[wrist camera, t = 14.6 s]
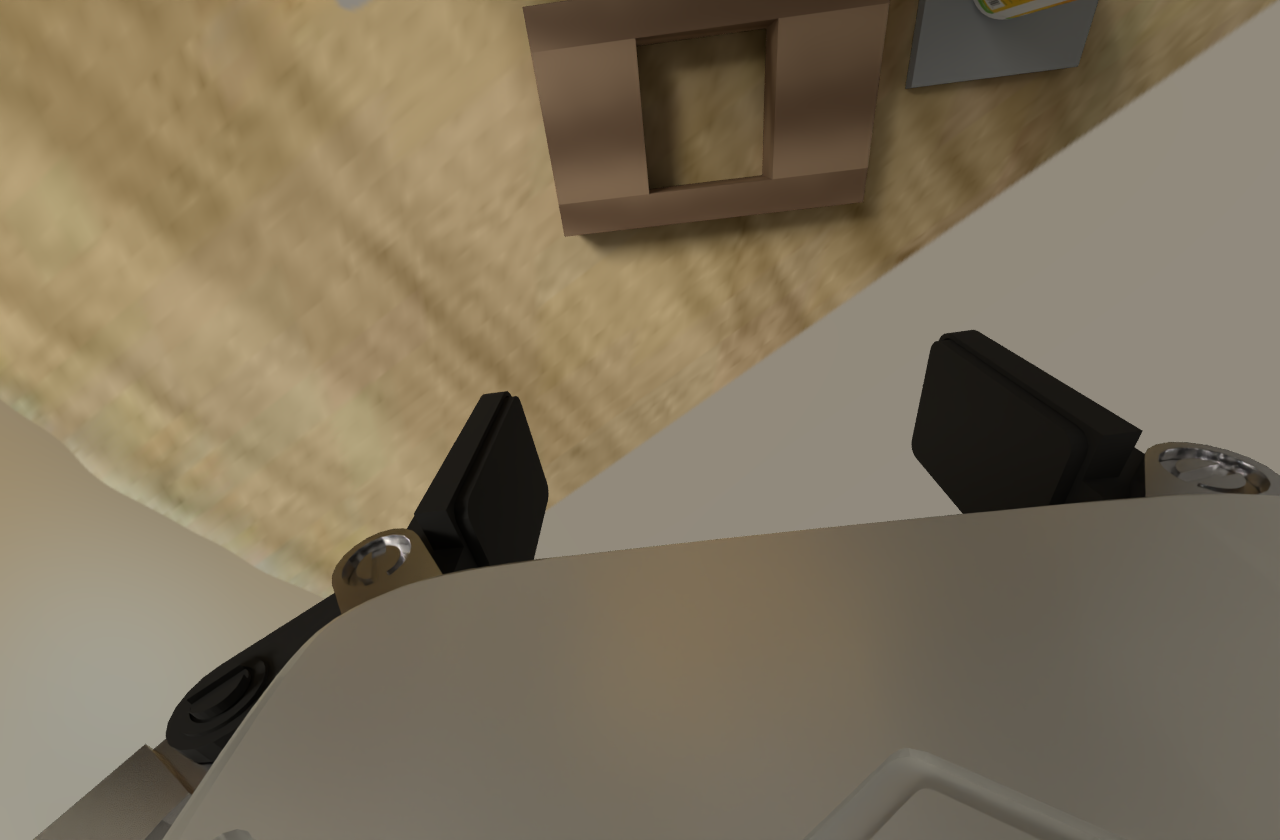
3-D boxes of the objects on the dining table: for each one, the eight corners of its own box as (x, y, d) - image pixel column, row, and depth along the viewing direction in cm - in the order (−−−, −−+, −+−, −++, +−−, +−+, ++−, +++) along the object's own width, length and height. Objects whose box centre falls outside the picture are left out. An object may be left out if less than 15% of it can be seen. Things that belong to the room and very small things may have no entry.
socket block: (533, 18, 28) (522, 6, 26) (872, -31, 27) (896, -48, 24) (570, 228, 34) (564, 236, 32) (846, 196, 33) (863, 202, 31)
